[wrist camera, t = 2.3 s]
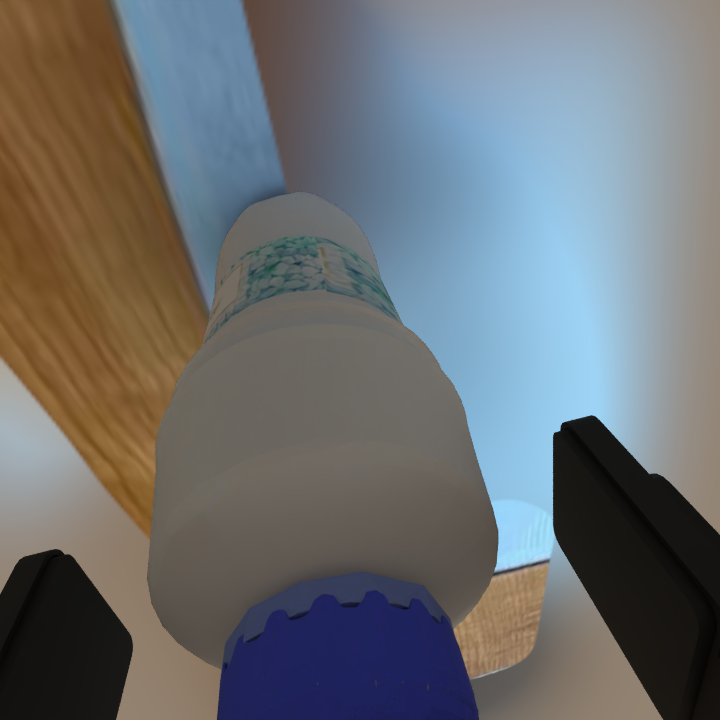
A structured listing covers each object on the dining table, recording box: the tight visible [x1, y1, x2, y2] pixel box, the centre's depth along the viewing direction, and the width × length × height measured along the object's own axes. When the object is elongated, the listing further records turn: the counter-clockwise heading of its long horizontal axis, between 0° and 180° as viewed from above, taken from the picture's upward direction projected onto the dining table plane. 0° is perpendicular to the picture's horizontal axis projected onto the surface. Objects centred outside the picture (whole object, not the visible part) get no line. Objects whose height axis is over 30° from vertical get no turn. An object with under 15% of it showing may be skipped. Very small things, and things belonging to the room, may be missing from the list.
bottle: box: [147, 191, 498, 720], centre depth 14 cm, size 7×7×20 cm
